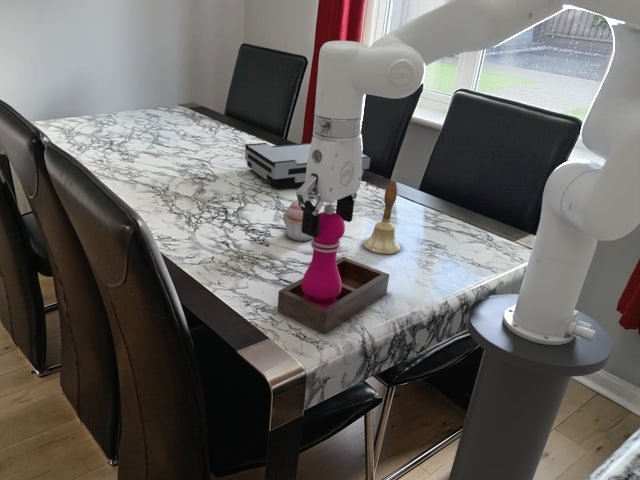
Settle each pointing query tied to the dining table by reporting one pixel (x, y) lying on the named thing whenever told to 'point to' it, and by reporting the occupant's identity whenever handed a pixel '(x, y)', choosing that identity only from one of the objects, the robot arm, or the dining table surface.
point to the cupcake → (295, 222)
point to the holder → (356, 294)
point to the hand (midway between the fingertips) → (327, 227)
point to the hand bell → (385, 227)
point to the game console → (283, 163)
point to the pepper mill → (324, 261)
